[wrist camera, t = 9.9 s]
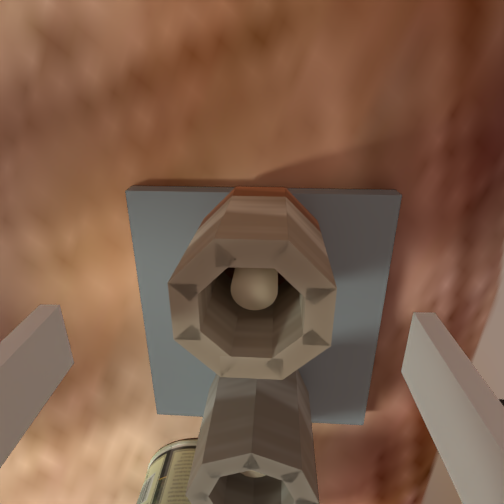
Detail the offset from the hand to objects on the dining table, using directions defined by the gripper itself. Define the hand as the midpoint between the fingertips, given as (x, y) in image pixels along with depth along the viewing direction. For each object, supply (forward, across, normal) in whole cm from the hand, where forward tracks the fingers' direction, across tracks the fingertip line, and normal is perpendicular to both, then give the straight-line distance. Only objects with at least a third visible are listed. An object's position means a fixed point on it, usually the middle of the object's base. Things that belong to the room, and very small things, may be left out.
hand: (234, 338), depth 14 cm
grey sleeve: (+10, +1, -12) cm, 15 cm away
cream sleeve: (+10, +1, 0) cm, 10 cm away
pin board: (+11, +1, -6) cm, 12 cm away
